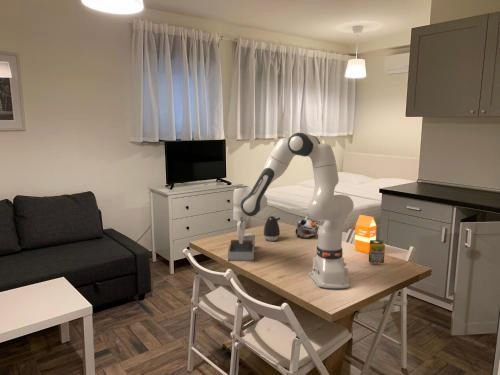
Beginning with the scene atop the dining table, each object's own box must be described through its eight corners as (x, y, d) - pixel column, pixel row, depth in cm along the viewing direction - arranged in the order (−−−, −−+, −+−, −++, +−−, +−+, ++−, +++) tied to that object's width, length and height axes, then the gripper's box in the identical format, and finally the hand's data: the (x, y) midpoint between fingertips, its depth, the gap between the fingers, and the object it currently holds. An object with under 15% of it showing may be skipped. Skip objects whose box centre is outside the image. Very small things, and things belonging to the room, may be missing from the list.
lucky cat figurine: (319, 233, 249) (320, 214, 244) (317, 243, 239) (319, 223, 233) (296, 231, 253) (297, 212, 247) (293, 240, 242) (295, 220, 236)
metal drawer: (253, 261, 200) (253, 247, 199) (227, 260, 200) (227, 247, 199) (253, 252, 213) (253, 239, 212) (229, 252, 213) (229, 239, 212)
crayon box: (370, 263, 197) (371, 241, 196) (368, 261, 200) (369, 239, 198) (384, 263, 197) (385, 241, 195) (382, 261, 200) (383, 240, 198)
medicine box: (250, 247, 224) (250, 232, 222) (254, 248, 220) (255, 234, 219) (239, 249, 219) (239, 235, 217) (244, 251, 215) (244, 236, 214)
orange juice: (367, 252, 214) (369, 218, 211) (354, 249, 220) (355, 215, 217) (375, 250, 219) (377, 216, 216) (361, 246, 225) (363, 213, 222)
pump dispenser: (280, 242, 233) (280, 218, 230) (263, 242, 233) (263, 218, 231) (279, 237, 243) (279, 214, 241) (263, 237, 243) (263, 214, 241)
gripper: (246, 220, 193) (246, 246, 195) (247, 211, 213) (247, 235, 215) (234, 220, 193) (234, 246, 195) (236, 211, 213) (236, 235, 215)
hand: (241, 240), depth 205 cm, fingers open, 7 cm apart
